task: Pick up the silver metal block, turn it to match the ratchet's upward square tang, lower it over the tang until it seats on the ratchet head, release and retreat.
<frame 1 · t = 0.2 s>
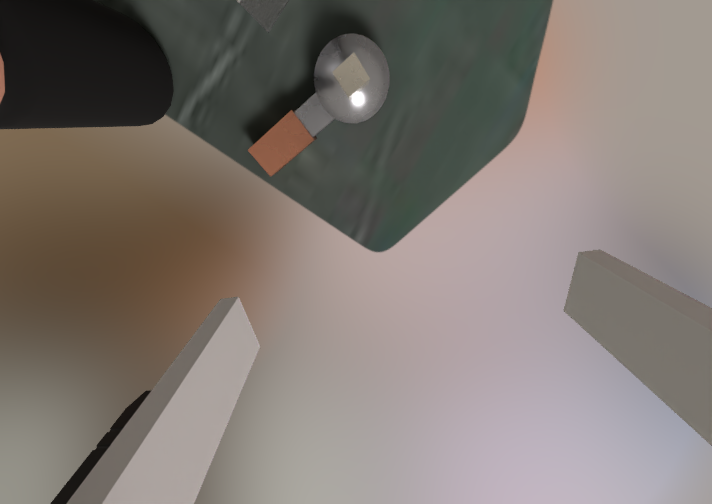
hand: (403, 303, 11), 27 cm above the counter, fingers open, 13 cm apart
coffee jar: (131, 74, 30), on the counter
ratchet: (352, 84, 30), on the counter
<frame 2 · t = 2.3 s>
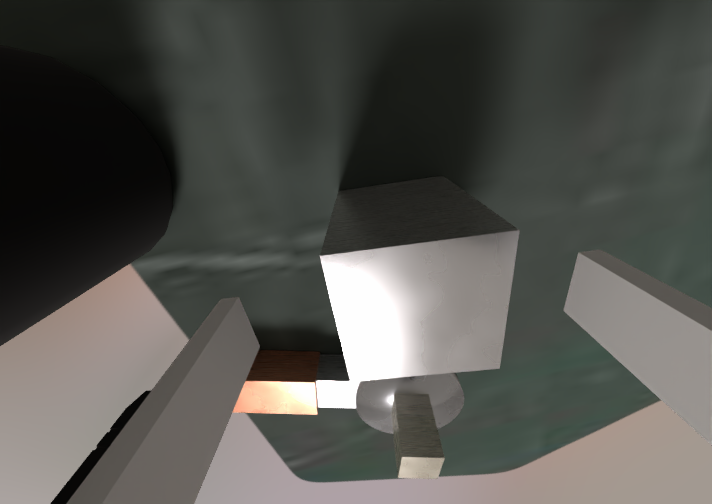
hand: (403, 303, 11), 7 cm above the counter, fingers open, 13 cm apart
coffee jar: (91, 168, 15), on the counter
silver metal block: (394, 231, 16), on the counter
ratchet: (403, 369, 22), on the counter
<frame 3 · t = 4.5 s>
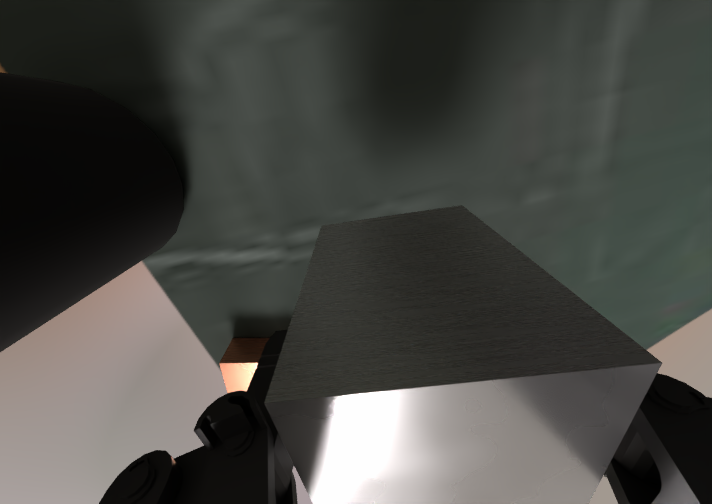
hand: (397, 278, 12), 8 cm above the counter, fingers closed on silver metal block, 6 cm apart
coffee jar: (112, 177, 18), on the counter
silver metal block: (396, 275, 12), point 8 cm above the counter, touching gripper
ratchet: (385, 352, 25), on the counter
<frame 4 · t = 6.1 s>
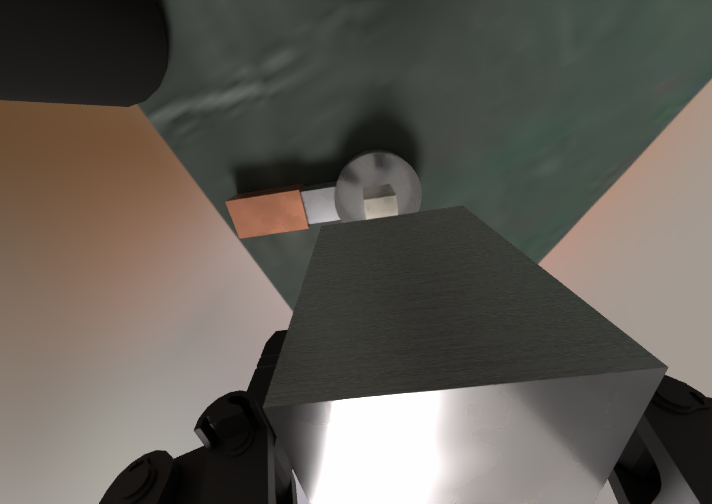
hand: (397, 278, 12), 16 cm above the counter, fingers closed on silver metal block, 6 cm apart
coffee jar: (109, 32, 21), on the counter
silver metal block: (396, 275, 12), point 16 cm above the counter, touching gripper
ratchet: (375, 191, 27), on the counter
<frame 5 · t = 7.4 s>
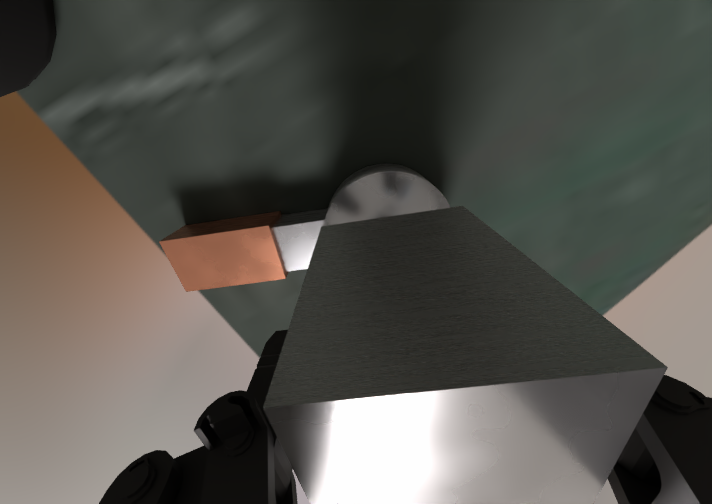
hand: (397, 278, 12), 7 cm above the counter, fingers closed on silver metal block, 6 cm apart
silver metal block: (396, 275, 12), point 7 cm above the counter, touching gripper
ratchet: (383, 222, 19), on the counter
when the fingers open (4 cm above the counter, at t = 8.2 s): silver metal block drops 1 cm, resting on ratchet.
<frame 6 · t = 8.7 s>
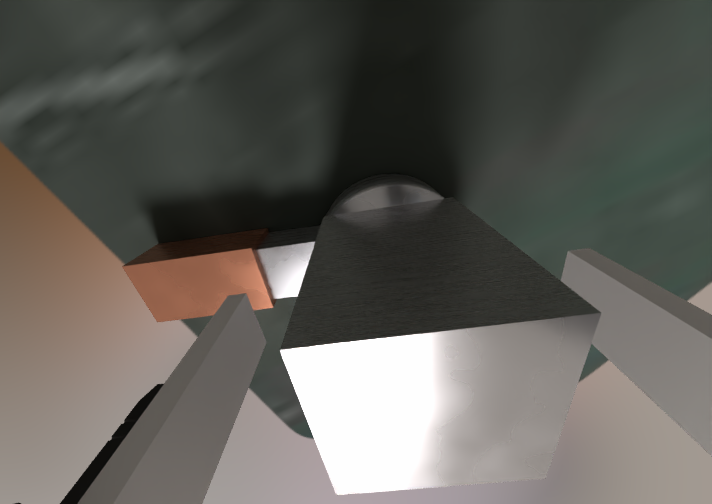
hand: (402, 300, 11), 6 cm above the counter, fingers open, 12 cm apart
silver metal block: (393, 263, 13), point 3 cm above the counter, touching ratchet
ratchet: (386, 240, 16), on the counter
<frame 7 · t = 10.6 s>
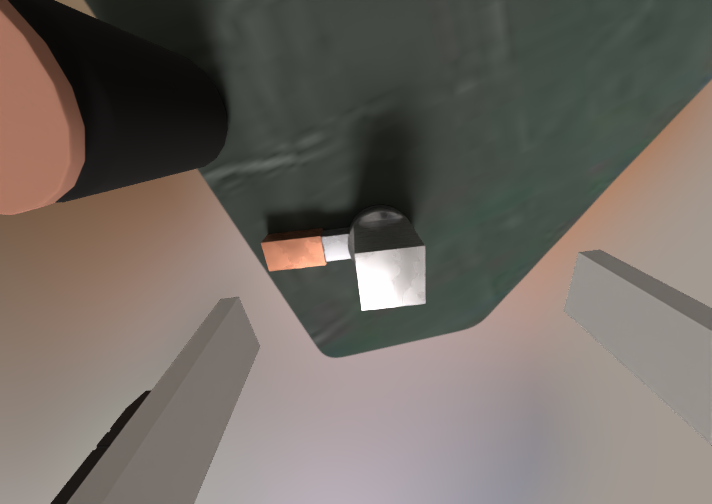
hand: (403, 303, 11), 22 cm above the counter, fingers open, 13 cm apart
coffee jar: (181, 115, 28), on the counter
silver metal block: (381, 244, 31), point 3 cm above the counter, touching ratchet
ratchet: (379, 235, 33), on the counter
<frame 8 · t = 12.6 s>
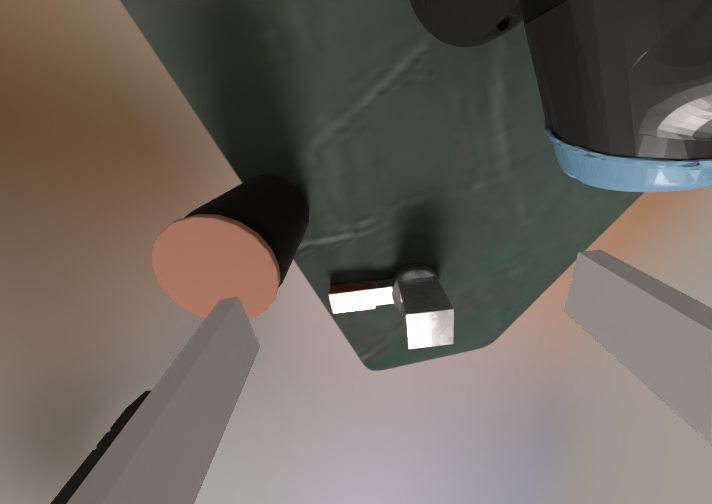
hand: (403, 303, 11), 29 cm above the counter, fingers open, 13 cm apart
coffee jar: (274, 210, 39), on the counter
silver metal block: (417, 294, 42), point 3 cm above the counter, touching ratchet
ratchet: (413, 283, 44), on the counter
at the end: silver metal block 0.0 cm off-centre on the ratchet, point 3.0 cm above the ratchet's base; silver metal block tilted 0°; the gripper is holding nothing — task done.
